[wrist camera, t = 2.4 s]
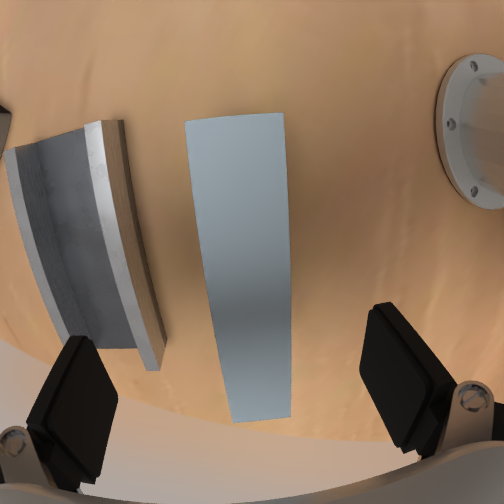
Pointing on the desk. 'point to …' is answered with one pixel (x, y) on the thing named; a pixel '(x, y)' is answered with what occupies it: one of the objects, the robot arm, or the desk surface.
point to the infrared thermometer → (4, 127)
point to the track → (87, 238)
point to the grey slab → (246, 255)
